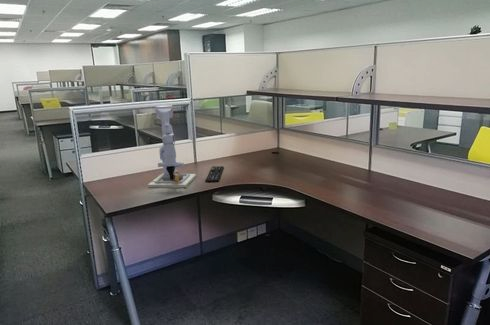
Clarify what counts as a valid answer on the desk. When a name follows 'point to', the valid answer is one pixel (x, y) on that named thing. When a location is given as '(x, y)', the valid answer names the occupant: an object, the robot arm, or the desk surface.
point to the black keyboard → (214, 174)
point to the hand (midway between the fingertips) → (172, 179)
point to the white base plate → (181, 183)
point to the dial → (176, 177)
